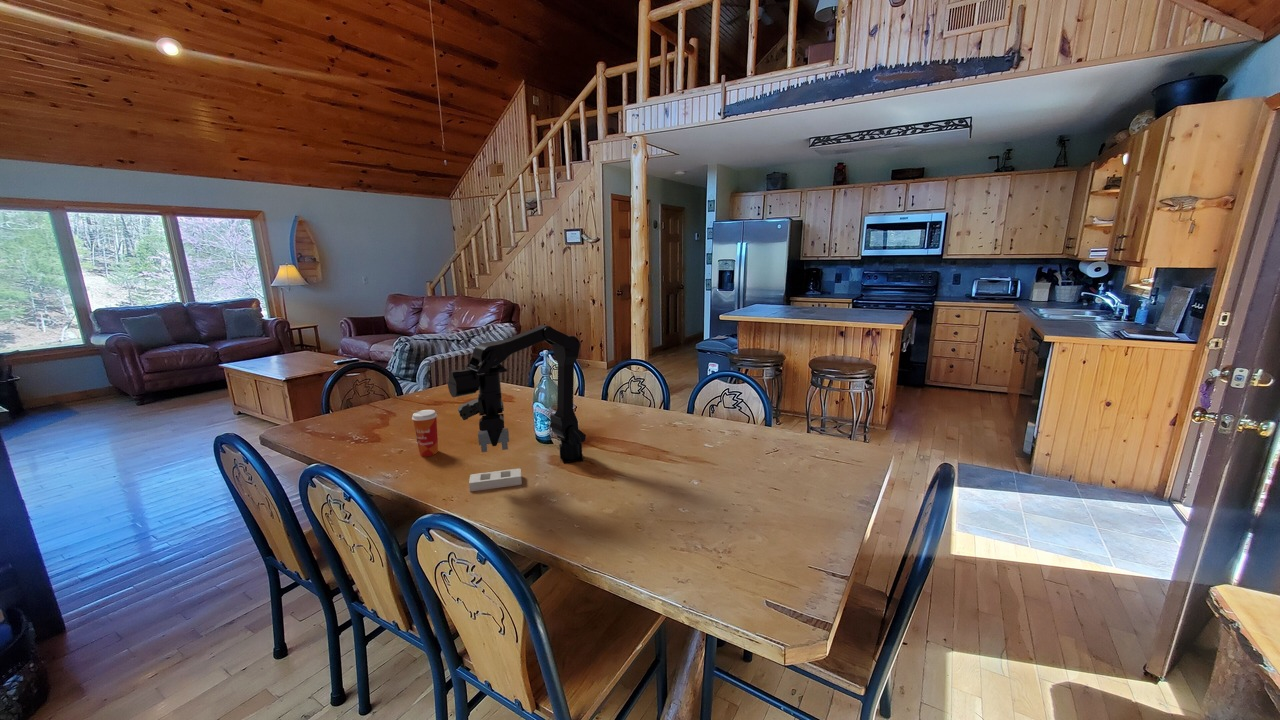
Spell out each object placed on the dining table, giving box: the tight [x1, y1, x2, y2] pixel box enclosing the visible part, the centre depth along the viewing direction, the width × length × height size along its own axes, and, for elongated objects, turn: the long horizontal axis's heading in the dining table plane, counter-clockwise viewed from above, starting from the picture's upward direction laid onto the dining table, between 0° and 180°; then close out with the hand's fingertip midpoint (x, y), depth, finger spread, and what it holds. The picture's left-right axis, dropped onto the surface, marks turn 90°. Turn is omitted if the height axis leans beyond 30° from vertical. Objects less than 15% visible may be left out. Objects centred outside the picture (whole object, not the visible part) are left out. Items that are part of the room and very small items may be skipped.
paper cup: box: [411, 409, 439, 457], centre depth 160 cm, size 8×8×14 cm
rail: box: [468, 468, 523, 492], centre depth 138 cm, size 14×6×2 cm, turn 105°
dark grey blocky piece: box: [477, 427, 510, 453], centre depth 136 cm, size 8×3×5 cm, turn 106°
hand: (494, 443), depth 136 cm, fingers closed on dark grey blocky piece, 3 cm apart
